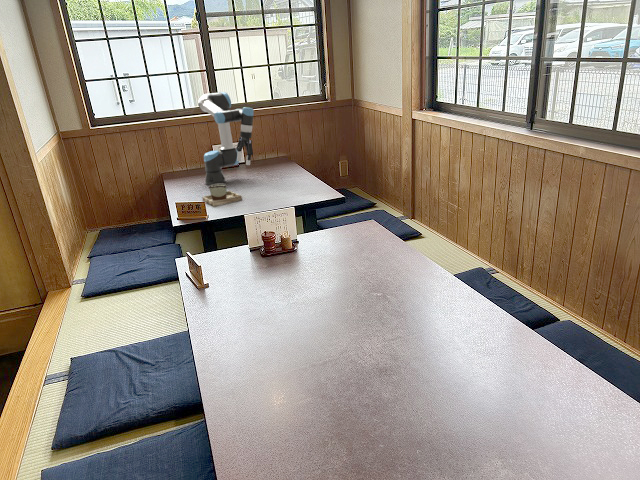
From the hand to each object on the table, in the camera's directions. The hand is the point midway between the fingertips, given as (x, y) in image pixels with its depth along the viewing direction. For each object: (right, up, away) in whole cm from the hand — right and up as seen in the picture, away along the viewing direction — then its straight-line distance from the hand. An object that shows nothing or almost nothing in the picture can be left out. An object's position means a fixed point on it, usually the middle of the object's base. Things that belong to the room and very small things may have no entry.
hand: (243, 163), depth 327 cm
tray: (-12, -26, -10) cm, 31 cm away
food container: (-13, -25, -9) cm, 30 cm away
